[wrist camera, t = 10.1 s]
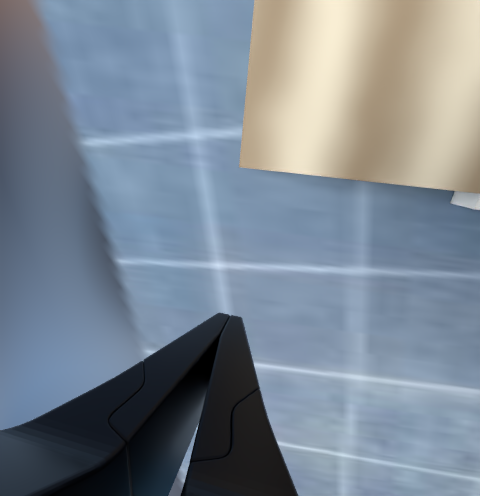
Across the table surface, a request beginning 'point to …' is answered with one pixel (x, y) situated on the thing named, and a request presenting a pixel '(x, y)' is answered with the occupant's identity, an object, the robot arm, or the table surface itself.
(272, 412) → the table surface
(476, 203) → the tray
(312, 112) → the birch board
